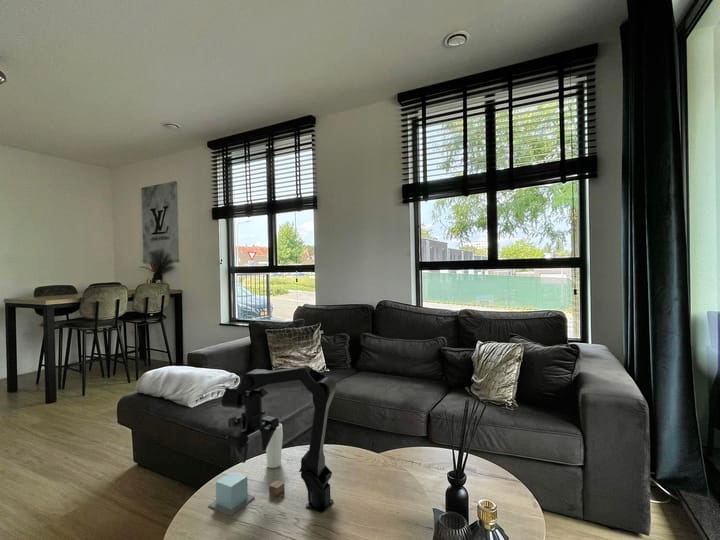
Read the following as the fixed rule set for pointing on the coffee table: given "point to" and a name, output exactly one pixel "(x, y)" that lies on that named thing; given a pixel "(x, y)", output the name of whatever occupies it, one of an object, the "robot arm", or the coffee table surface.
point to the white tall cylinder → (275, 448)
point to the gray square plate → (235, 509)
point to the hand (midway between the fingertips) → (254, 456)
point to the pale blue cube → (231, 490)
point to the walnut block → (276, 489)
